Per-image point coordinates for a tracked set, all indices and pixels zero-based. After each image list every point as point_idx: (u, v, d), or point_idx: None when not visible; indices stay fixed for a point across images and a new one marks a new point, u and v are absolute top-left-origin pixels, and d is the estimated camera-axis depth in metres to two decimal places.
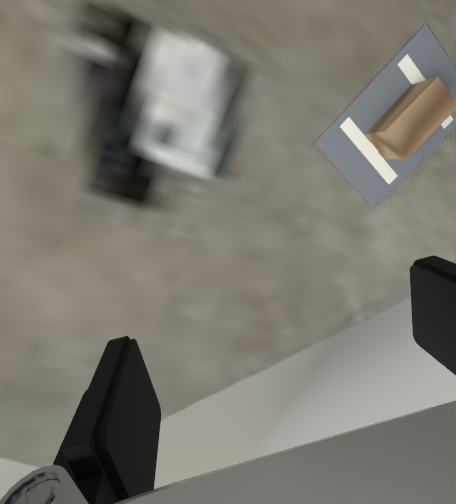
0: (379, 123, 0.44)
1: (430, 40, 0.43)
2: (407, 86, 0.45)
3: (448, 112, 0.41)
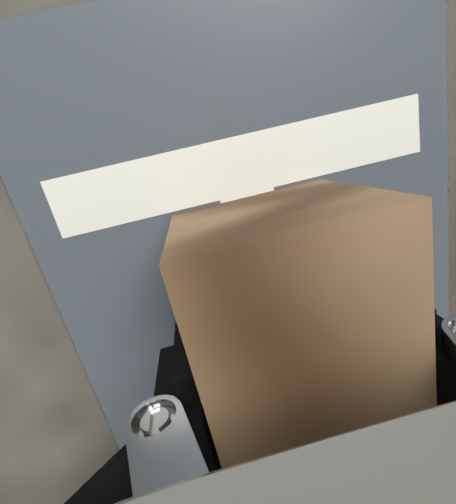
0: None
1: None
2: None
3: None
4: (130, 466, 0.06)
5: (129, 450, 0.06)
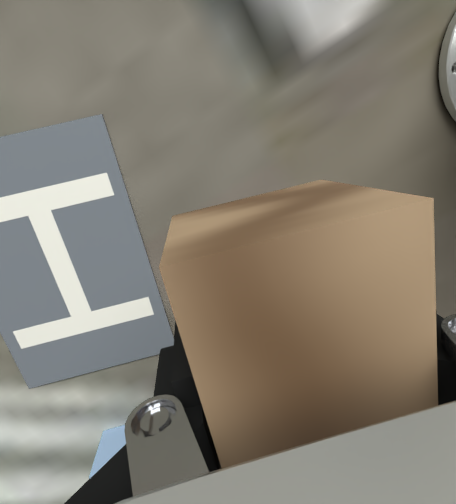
0: None
1: (152, 348, 0.30)
2: (109, 299, 0.28)
3: None
4: (130, 466, 0.06)
5: (129, 450, 0.06)
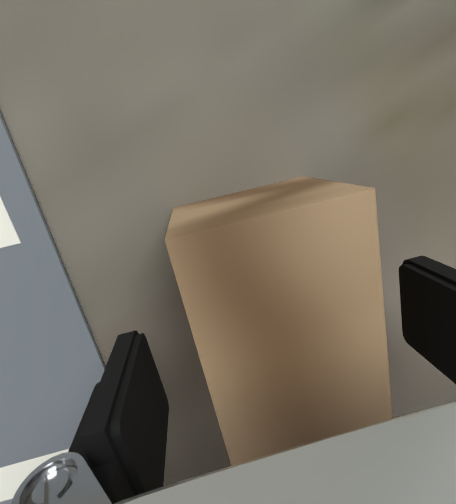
0: None
1: None
2: (28, 447, 0.14)
3: None
4: None
5: None
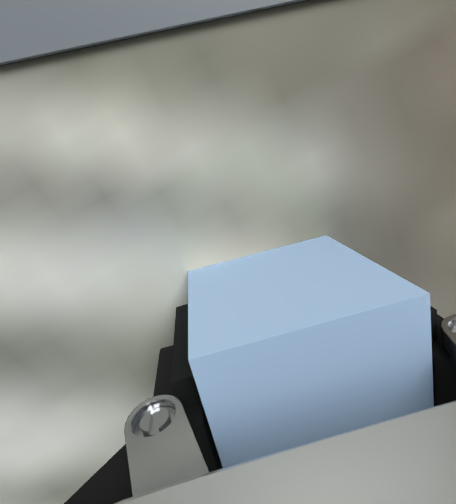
0: None
1: None
2: None
3: None
4: (130, 466, 0.06)
5: (129, 450, 0.06)
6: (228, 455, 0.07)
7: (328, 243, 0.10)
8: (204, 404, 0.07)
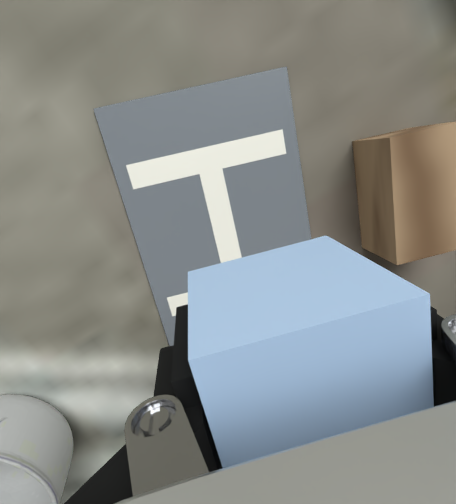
0: None
1: None
2: None
3: (401, 245, 0.23)
4: (130, 466, 0.06)
5: (129, 450, 0.06)
6: (228, 456, 0.07)
7: (328, 243, 0.10)
8: (204, 405, 0.07)
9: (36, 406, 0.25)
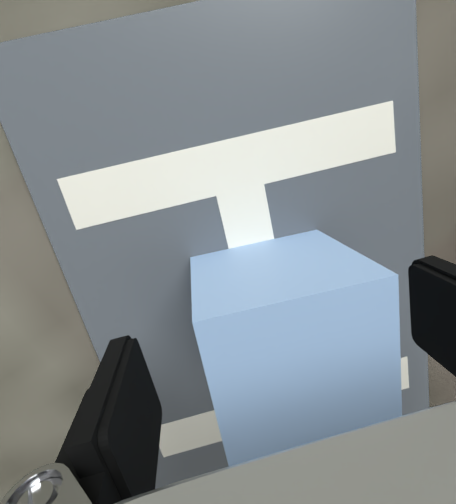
0: None
1: None
2: None
3: None
4: None
5: None
6: (222, 410, 0.08)
7: (318, 235, 0.12)
8: (204, 362, 0.08)
9: None
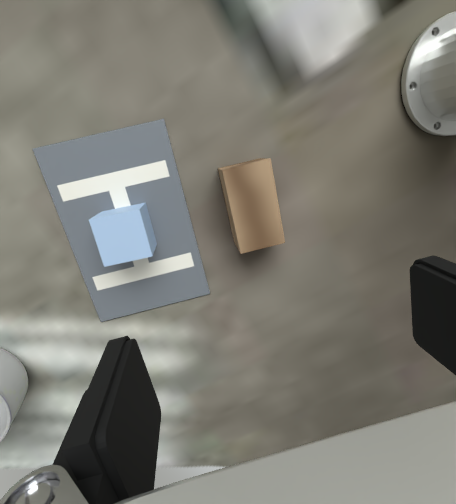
0: None
1: (192, 292, 0.40)
2: (162, 254, 0.38)
3: (241, 240, 0.34)
4: None
5: None
6: (98, 244, 0.32)
7: (142, 203, 0.35)
8: (92, 230, 0.31)
9: None
